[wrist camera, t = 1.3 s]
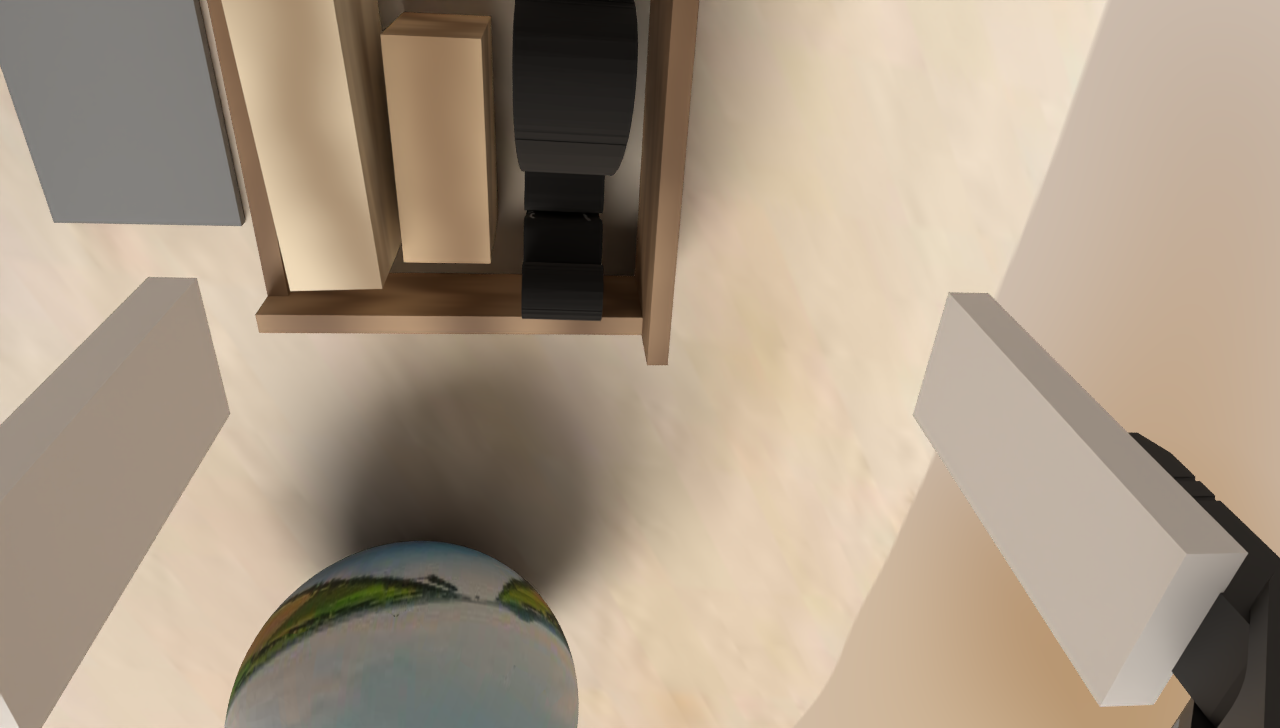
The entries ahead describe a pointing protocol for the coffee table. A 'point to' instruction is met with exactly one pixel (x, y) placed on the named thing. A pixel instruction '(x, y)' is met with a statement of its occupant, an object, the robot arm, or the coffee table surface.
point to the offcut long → (321, 135)
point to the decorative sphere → (409, 648)
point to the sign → (569, 143)
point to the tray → (497, 297)
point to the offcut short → (442, 135)
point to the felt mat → (120, 110)
